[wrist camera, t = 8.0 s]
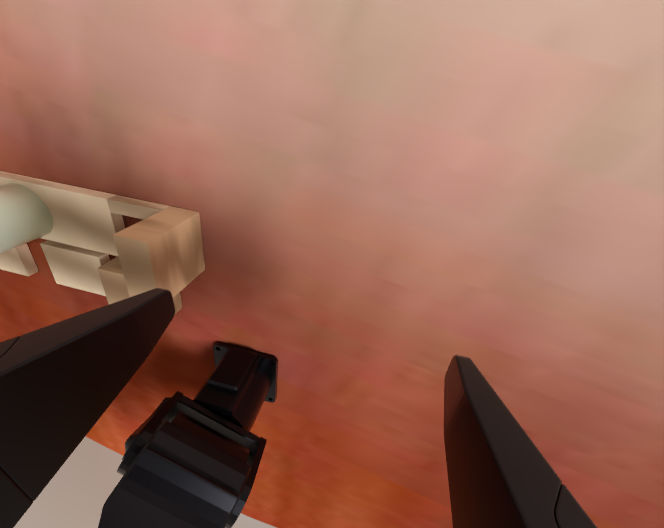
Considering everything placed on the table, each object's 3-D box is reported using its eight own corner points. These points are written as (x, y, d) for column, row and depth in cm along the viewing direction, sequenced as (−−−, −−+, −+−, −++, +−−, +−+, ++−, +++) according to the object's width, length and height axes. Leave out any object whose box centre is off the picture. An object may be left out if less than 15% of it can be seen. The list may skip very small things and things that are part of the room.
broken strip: (182, 307, 29) (165, 323, 27) (-17, 257, 32) (-46, 268, 30) (176, 268, 27) (156, 282, 25) (-38, 217, 30) (-71, 227, 28)
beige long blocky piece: (205, 269, 26) (161, 308, 22) (20, 226, 29) (-55, 253, 24) (199, 212, 24) (147, 242, 19) (-4, 169, 26) (-95, 187, 21)
